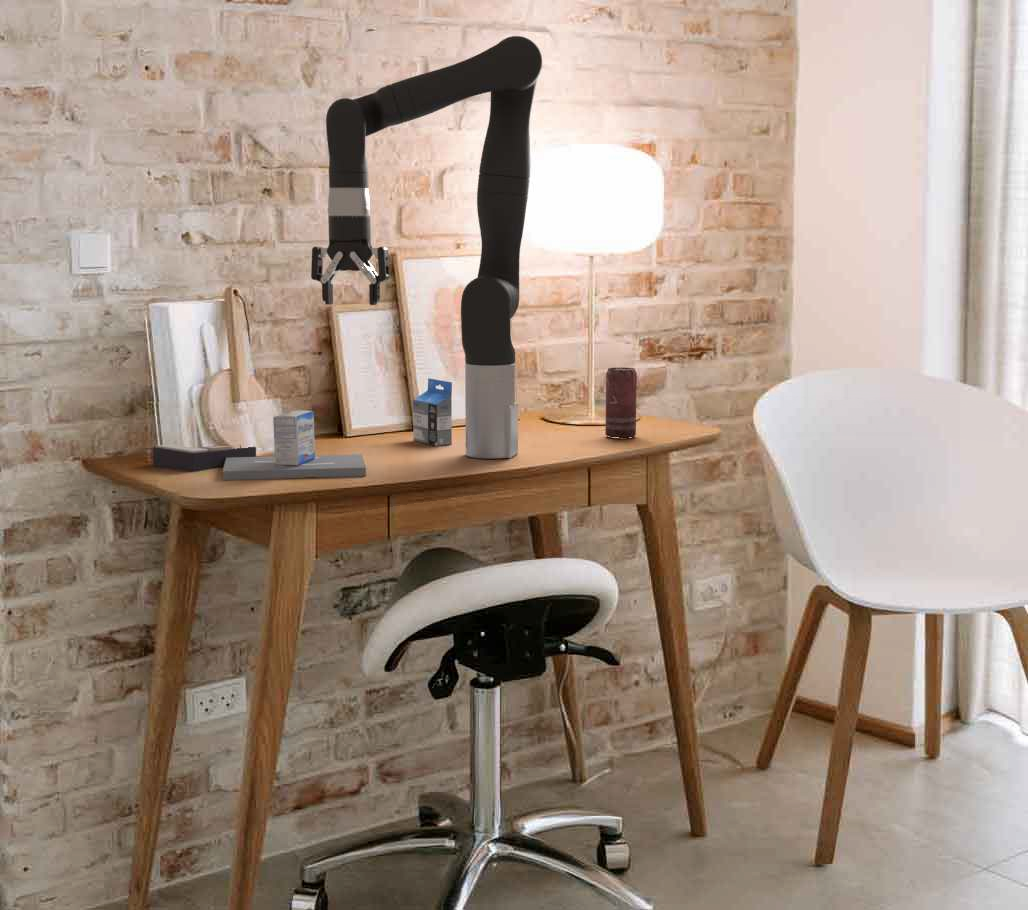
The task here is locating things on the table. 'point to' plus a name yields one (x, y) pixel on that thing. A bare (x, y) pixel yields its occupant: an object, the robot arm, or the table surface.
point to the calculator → (196, 456)
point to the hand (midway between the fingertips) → (351, 304)
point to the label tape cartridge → (433, 414)
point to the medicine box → (294, 438)
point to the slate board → (294, 467)
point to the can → (621, 402)
